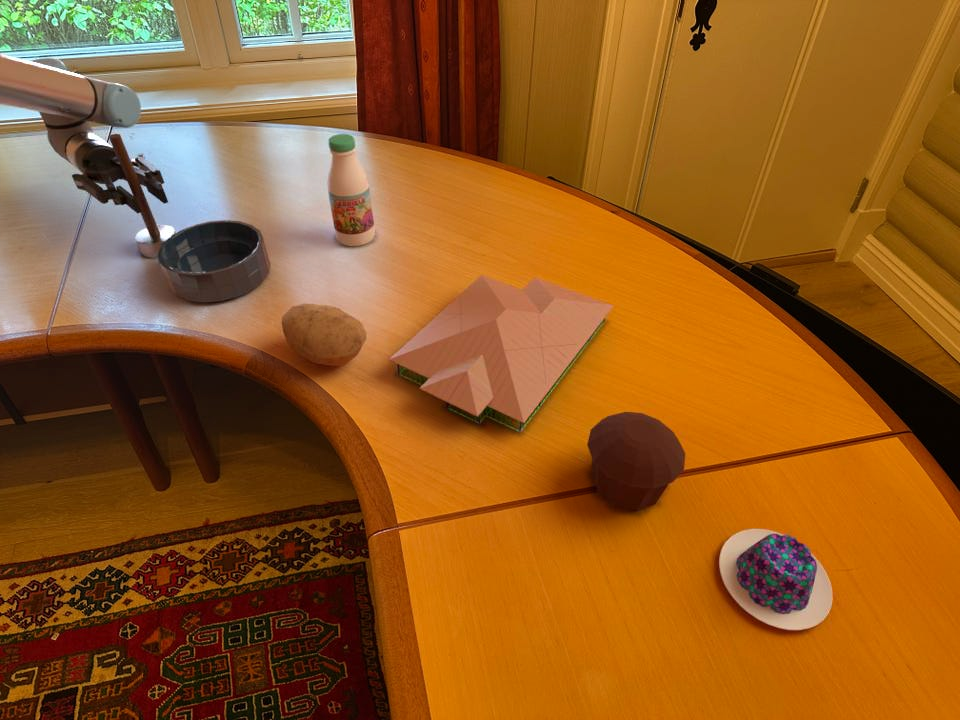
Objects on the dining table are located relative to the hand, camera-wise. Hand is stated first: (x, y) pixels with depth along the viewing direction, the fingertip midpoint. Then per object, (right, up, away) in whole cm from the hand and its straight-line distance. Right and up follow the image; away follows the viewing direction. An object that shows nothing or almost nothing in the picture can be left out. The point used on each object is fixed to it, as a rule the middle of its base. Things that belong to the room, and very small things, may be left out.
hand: (150, 200), depth 106 cm
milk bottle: (+33, -4, +14) cm, 36 cm away
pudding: (+91, -53, -38) cm, 112 cm away
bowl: (+11, -13, +4) cm, 17 cm away
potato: (+34, -27, -11) cm, 45 cm away
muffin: (+77, -44, -28) cm, 93 cm away
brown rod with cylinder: (-4, -6, +11) cm, 13 cm away
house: (+61, -27, -10) cm, 68 cm away
